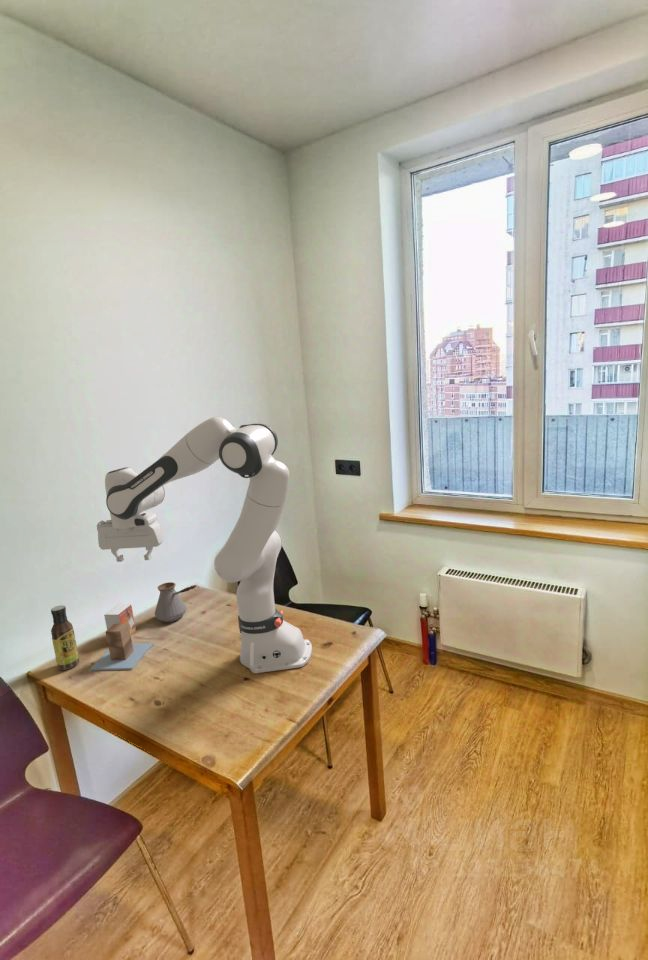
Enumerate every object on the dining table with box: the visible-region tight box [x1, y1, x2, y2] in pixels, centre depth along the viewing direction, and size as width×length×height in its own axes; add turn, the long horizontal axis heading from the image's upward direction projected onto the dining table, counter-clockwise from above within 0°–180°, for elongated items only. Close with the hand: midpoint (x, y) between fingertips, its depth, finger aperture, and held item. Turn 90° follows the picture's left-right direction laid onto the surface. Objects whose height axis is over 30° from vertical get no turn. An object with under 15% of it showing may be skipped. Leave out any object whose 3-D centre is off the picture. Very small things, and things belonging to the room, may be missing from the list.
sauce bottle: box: [50, 604, 80, 671], centre depth 149 cm, size 6×6×20 cm
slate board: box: [89, 642, 154, 671], centre depth 153 cm, size 14×14×1 cm
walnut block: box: [105, 623, 133, 660], centre depth 152 cm, size 5×5×10 cm
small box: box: [104, 603, 137, 636], centre depth 165 cm, size 8×6×10 cm
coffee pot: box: [154, 581, 200, 623], centre depth 174 cm, size 21×12×15 cm, turn 62°
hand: (134, 560), depth 151 cm, fingers open, 8 cm apart
